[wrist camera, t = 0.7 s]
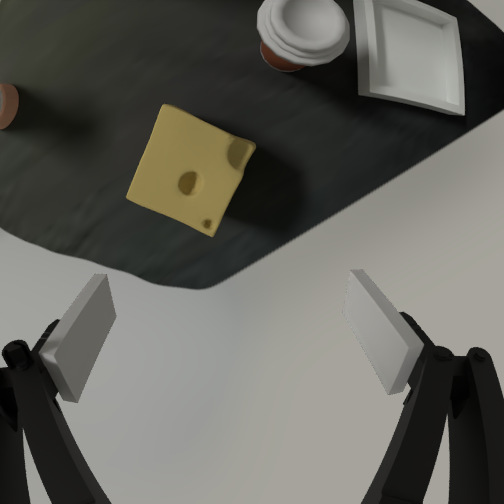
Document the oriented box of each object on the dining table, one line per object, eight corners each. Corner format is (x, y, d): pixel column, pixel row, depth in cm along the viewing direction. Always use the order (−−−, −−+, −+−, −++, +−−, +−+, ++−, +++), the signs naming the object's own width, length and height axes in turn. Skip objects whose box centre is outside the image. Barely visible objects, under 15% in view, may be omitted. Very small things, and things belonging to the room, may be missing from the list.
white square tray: (352, -8, 27) (361, -18, 24) (443, 22, 29) (456, 18, 25) (358, 94, 34) (369, 92, 30) (450, 114, 35) (464, 115, 32)
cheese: (254, 143, 36) (264, 146, 26) (216, 218, 39) (212, 245, 30) (179, 108, 33) (162, 99, 24) (144, 185, 36) (118, 202, 27)
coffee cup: (333, 48, 31) (373, 21, 20) (293, 96, 33) (322, 80, 22) (277, 8, 29) (296, -35, 17) (234, 54, 31) (237, 21, 20)
